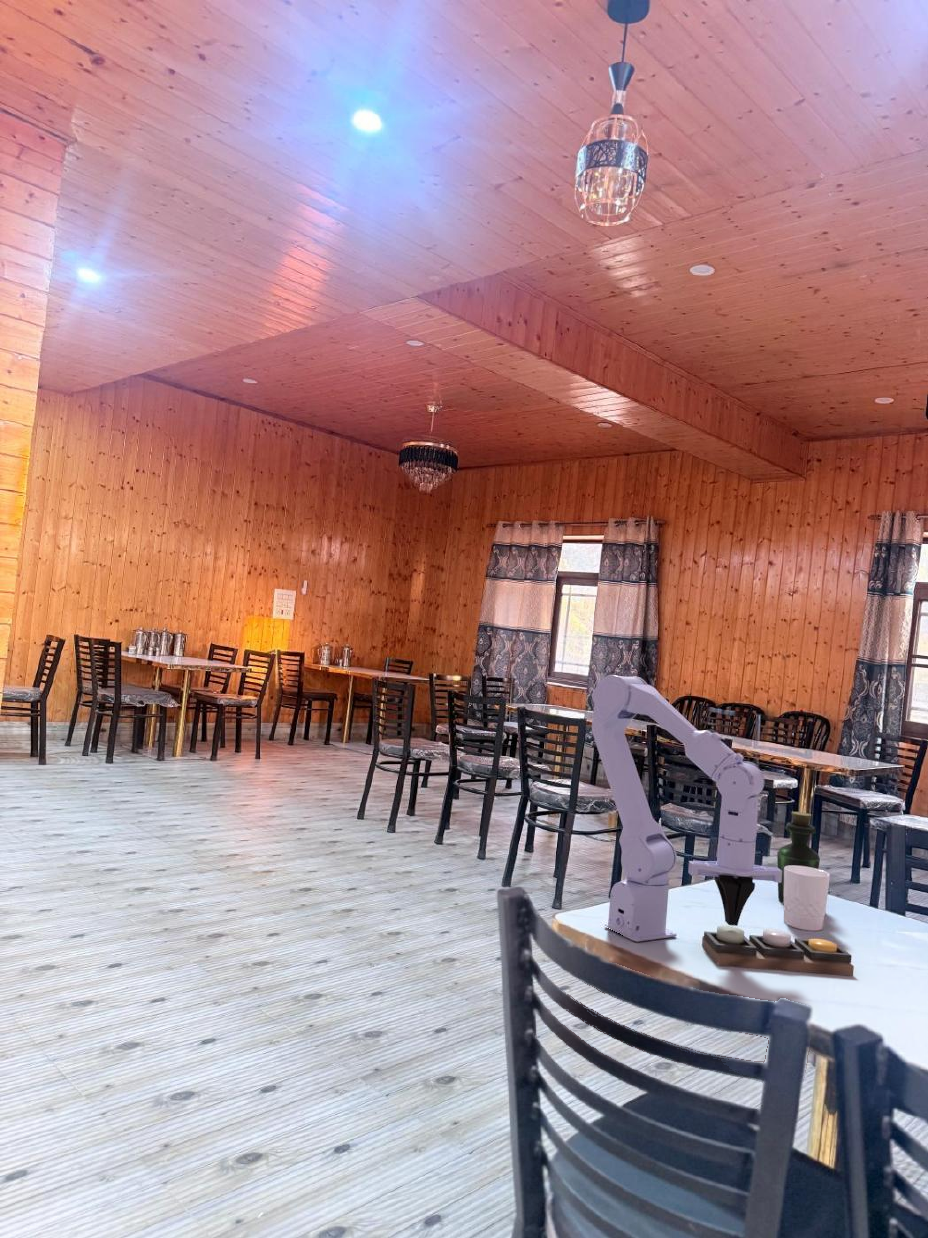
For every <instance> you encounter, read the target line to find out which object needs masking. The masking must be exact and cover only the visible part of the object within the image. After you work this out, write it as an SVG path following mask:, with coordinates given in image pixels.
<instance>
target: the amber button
mask: <svg viewBox="0 0 928 1238" xmlns="http://www.w3.org/2000/svg"><path fill="white" fill-rule="evenodd" d="M808 940H809V944H808V947H809V948H811V949H812V950H813V951H820V952H833V953H837V945H838V944H837V943H836V942H834V941H832V942H830V941H829V940H827V939H821V938H810V939H808ZM833 942H834V943H833ZM835 943H836V944H837V945H836V944H835Z"/></svg>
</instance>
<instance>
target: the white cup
mask: <svg viewBox="0 0 928 1238" xmlns="http://www.w3.org/2000/svg"><path fill="white" fill-rule="evenodd" d="M830 876H831V874H830V873H829V872H828V871H825V870H822V869H820V868H818V869H816V868H811V867H805V866H796V865H790V866H785V867H784V903H783V908H784V909H783V922H784V923H785V924H786V925H788V926H789V927H792V928H795V929H799V930H803V931H813V932H818V931H821V930H822V929H824V922H825V921H824V920H825V915H826V910H827V901H828V895H829V886H830V885H829V884H830V878H831V877H830Z"/></svg>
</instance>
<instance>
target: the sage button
mask: <svg viewBox="0 0 928 1238" xmlns="http://www.w3.org/2000/svg"><path fill="white" fill-rule="evenodd" d="M716 932H717V936H716V937H717V938H718V939H719V940H722V941H725V942H729V943H743V942H744V936H745V931H744V930H743V929H741V928H738V927H736V926H735V927H734V926H732V925H718V926H717V927H716Z"/></svg>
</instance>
